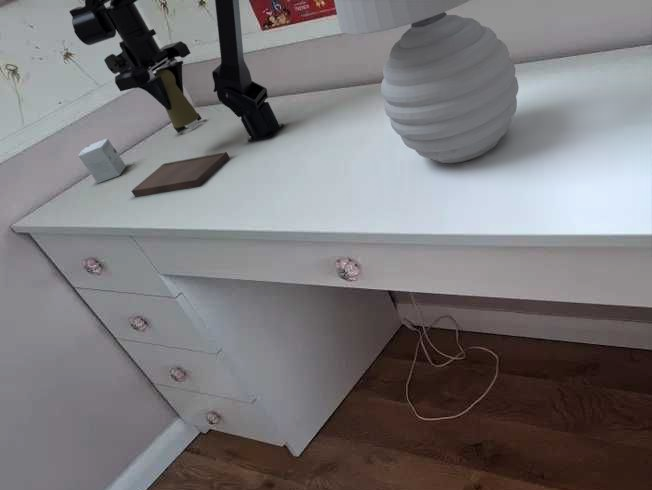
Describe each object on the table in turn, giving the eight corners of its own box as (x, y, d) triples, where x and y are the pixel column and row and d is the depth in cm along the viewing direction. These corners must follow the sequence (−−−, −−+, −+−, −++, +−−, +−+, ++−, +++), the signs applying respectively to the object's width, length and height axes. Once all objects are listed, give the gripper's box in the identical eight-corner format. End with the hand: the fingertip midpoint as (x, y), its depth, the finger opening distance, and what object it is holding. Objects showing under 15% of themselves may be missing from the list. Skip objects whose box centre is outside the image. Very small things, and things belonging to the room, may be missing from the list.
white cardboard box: (120, 175, 154) (100, 146, 149) (96, 184, 154) (76, 155, 149) (126, 165, 158) (108, 137, 154) (104, 174, 159) (84, 146, 154)
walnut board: (230, 158, 140) (226, 151, 139) (200, 186, 132) (195, 179, 131) (167, 169, 147) (163, 163, 146) (135, 197, 138) (130, 190, 137)
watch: (183, 135, 165) (175, 121, 162) (174, 135, 167) (166, 121, 165) (207, 121, 168) (199, 107, 166) (197, 121, 171) (190, 107, 169)
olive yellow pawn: (190, 124, 141) (161, 74, 134) (168, 130, 143) (138, 80, 136) (204, 112, 145) (176, 63, 138) (182, 118, 147) (154, 70, 140)
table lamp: (366, 177, 111) (252, -95, 86) (463, 109, 122) (387, -149, 97) (471, 196, 94) (369, -133, 69) (572, 115, 105) (515, -193, 80)
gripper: (132, 23, 141) (172, 93, 151) (75, 55, 129) (122, 129, 138) (171, 12, 137) (209, 85, 147) (115, 44, 124) (161, 121, 134)
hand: (176, 104), depth 142 cm, fingers closed on olive yellow pawn, 4 cm apart
